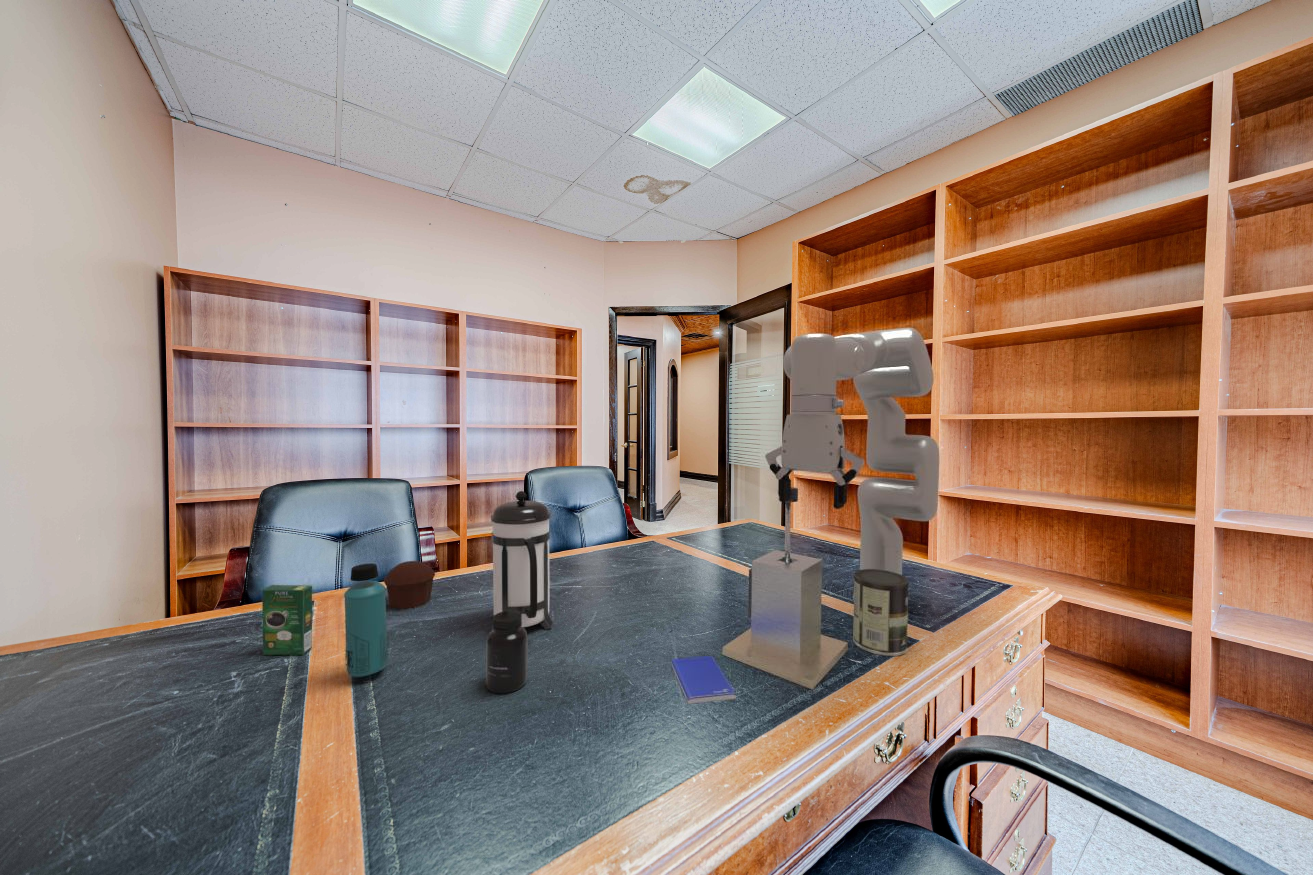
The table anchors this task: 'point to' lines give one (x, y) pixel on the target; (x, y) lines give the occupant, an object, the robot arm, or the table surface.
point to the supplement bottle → (506, 653)
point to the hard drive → (702, 680)
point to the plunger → (789, 521)
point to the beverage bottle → (365, 623)
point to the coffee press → (521, 560)
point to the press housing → (786, 621)
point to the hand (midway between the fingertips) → (811, 504)
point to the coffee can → (880, 612)
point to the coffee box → (287, 619)
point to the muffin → (409, 584)
